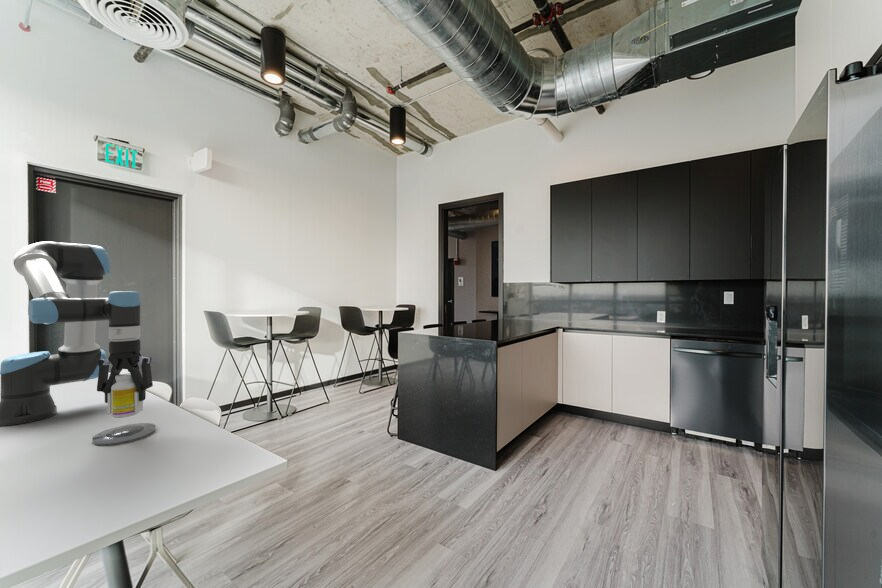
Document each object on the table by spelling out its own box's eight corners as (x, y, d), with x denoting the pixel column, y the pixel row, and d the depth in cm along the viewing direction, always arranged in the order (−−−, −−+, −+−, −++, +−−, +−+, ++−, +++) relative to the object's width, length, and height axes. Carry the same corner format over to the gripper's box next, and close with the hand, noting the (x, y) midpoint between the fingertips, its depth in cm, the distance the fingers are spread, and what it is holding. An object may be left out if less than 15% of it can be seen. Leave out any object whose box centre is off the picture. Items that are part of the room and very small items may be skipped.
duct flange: (77, 445, 105) (77, 441, 105) (122, 426, 120) (122, 422, 120) (128, 445, 105) (128, 440, 105) (167, 426, 120) (167, 422, 120)
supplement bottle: (141, 414, 112) (140, 374, 112) (113, 420, 107) (112, 378, 107) (137, 410, 117) (136, 371, 117) (109, 415, 112) (109, 375, 112)
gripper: (79, 342, 107) (79, 418, 107) (152, 340, 110) (153, 413, 110) (98, 339, 114) (98, 410, 114) (166, 337, 118) (167, 406, 118)
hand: (125, 411), depth 112 cm, fingers closed on supplement bottle, 7 cm apart
